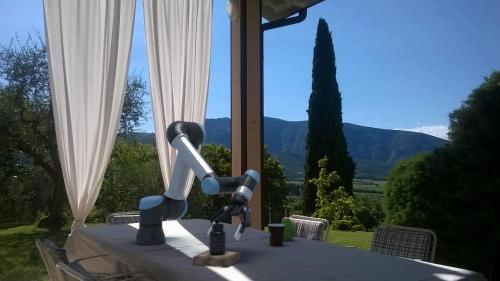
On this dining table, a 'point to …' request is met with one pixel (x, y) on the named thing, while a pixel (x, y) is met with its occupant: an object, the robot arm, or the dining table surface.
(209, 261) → the pedestal
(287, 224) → the avocado
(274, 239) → the coffee mug
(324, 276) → the dining table surface
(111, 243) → the dining table surface
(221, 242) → the supplement bottle
